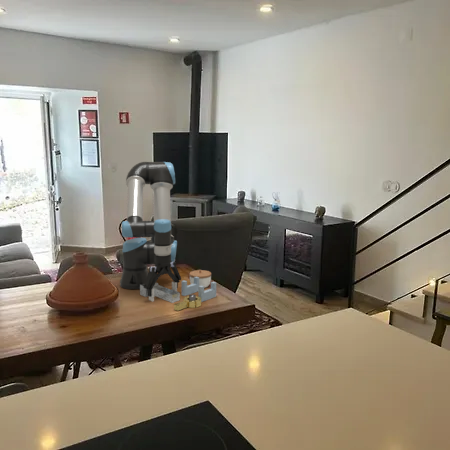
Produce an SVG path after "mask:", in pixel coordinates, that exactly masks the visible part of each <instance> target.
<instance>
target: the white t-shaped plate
mask: <svg viewBox="0 0 450 450" xmlns="http://www.w3.org/2000/svg"><path fill="white" fill-rule="evenodd" d="M144 284H145V283H144ZM144 284H141V285H140V289H139V295H140V296H142V297H145V298H147V297H148V298H149V296H148V291H147V289H145V288H144ZM152 289H154V297H156V298H159V299H160V300H164V301H167V302H169V303H171V304H172V303H173V304H174V303H176V302H179V301H180V299H181V297H180V296H181V294H180V293H181V292H179V291H178V290H177V291H174V290H172V288H171V289H170V288H167V287H165V286H163V285H159V283H158V282H156V283H155V285H154V287H153V288H152Z"/></svg>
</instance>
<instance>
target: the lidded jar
mask: <svg viewBox="0 0 450 450" xmlns="http://www.w3.org/2000/svg"><path fill="white" fill-rule="evenodd" d="M194 277H199V286H204V289H205V288H208V287H209V285H211V282H212V281H211V280H212V272H211V271H209V270H202V269H197V270H191V271H190V272H189V283H190V285H191V284H194Z"/></svg>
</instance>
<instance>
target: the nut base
mask: <svg viewBox="0 0 450 450" xmlns="http://www.w3.org/2000/svg"><path fill="white" fill-rule="evenodd" d="M188 296H189V300H190V301H195V300H196V296H197V295H196V294H195V293H192V294H189V295H188Z"/></svg>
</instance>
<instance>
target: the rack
mask: <svg viewBox="0 0 450 450" xmlns="http://www.w3.org/2000/svg"><path fill="white" fill-rule="evenodd" d="M195 293H198V297H201V303H203V302H206V301H208V300H211V299H214V298H216V297H217V282H215V281H210V288H209V289H208V288H207V289H205V288H204V286H199V277H194V284H191V283H190V284H188V281H187V280H181V296H183V297H187V296H189V295H191V294H195Z"/></svg>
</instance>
